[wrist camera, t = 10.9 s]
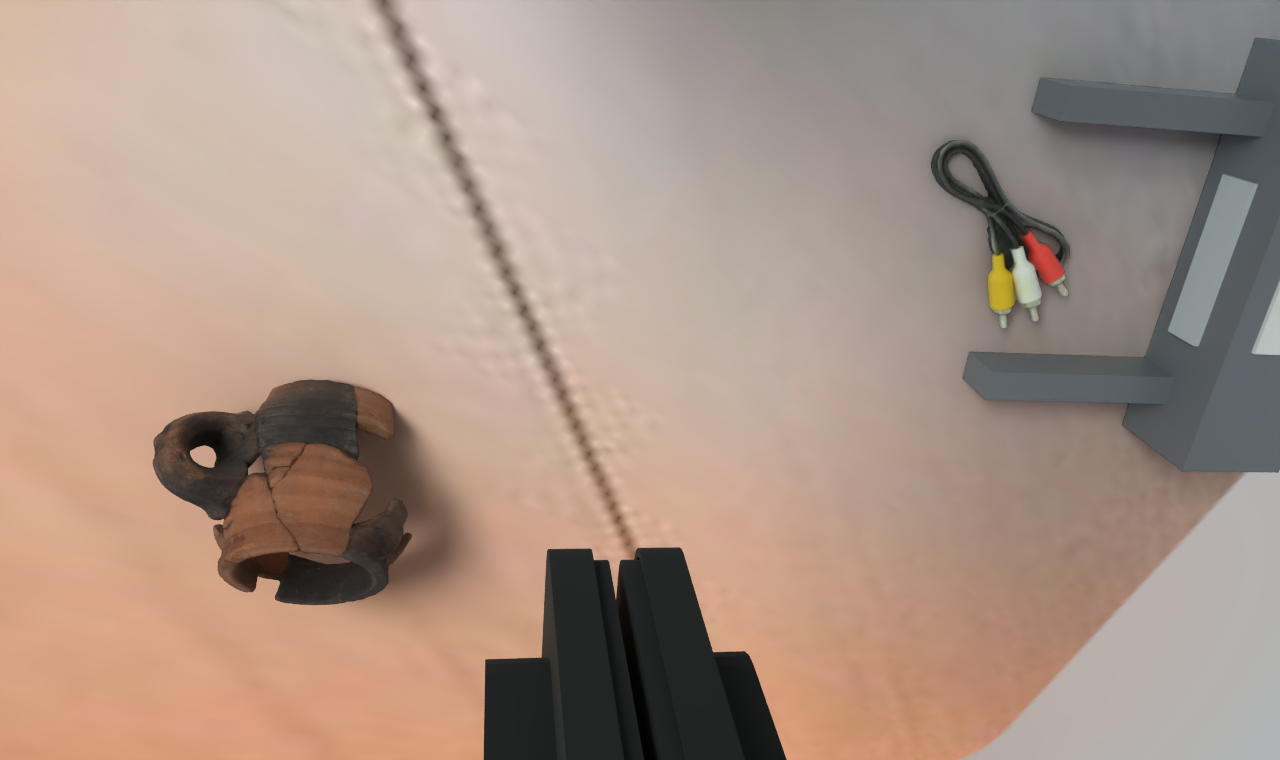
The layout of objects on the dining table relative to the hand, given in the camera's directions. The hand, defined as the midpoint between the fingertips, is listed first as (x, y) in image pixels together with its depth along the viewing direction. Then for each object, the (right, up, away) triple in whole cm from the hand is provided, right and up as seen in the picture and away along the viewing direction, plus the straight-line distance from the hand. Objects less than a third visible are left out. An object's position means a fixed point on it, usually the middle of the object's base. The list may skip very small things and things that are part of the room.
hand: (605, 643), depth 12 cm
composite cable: (+18, +11, +34) cm, 40 cm away
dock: (+25, +10, +35) cm, 44 cm away
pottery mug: (-16, 0, +34) cm, 37 cm away
